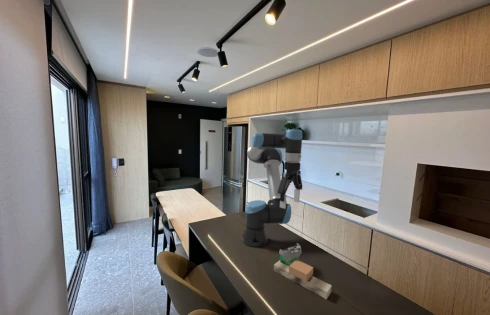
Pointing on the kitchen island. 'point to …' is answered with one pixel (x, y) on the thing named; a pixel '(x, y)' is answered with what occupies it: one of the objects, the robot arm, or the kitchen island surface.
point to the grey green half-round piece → (290, 254)
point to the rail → (312, 285)
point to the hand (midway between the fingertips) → (289, 204)
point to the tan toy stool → (301, 270)
